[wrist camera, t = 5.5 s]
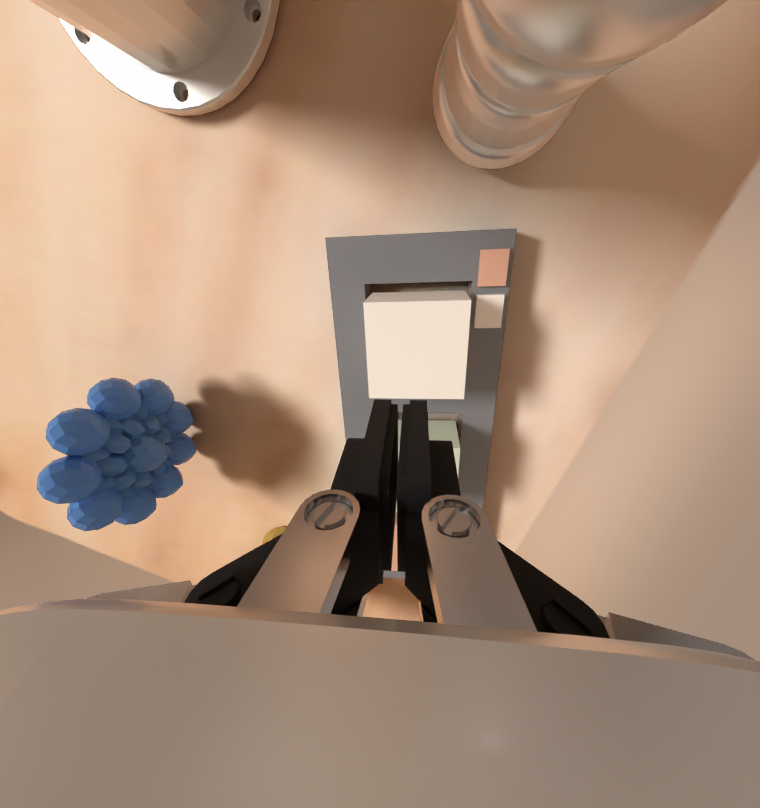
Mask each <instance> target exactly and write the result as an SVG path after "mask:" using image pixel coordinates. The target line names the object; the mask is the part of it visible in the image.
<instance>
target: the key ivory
mask: <svg viewBox="0 0 760 808" xmlns="http://www.w3.org/2000/svg"><path fill="white" fill-rule="evenodd" d="M363 308H364V324H365V341H366V357H367V373H368V389H369V398H390V399H464V393H465V379H466V366H467V353H468V339H469V326H470V313H471V299H470V298H469V296H468V295H467V294H466V292H465V291H464V290H455V291H419V292H382V293H372V294H371V295H370V296H369V297H368V298H367V299H366V300H365V301H364V302H363Z"/></svg>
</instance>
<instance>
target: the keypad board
mask: <svg viewBox="0 0 760 808" xmlns="http://www.w3.org/2000/svg"><path fill="white" fill-rule="evenodd" d="M516 230H517V229H498V230H477V231H456V232H435V233H415V234H394V235H373V236H352V237H331V238H325V239H326V249H327V259H328V269H329V279H330V289H331V299H332V309H333V318H334V328H335V338H336V348H337V358H338V368H339V378H340V388H341V398H342V407H343V417H344V427H345V437H346V441H347V439H348V438H365V434H366V430H367V426H368V422H369V418H370V414H371V410H372V406H373V402H374V399H382V400H391V401H392V404H398V412H402V411H403V404H410V400H427V411H428V413H459V422H458V438H459V444H460V460H459V473H458V481H459V487H460V493H461V496H462V497H465V498H467V499H469V500H471V501H473V502H475V503H476V504H477V505H478V506H480V507H481V508H482V510H483V503H484V494H485V486H486V478H487V470H488V461H489V453H490V445H491V437H492V428H493V420H494V412H495V403H496V395H497V387H498V379H499V370H500V362H501V354H502V346H503V337H504V329H505V321H506V313H507V304H508V296H509V288H510V279H511V271H512V263H513V255H514V246H515V238H516ZM453 281H468V292H467V295H468V296H469V298H470V299H471V313H470V326H469V339H468V353H467V366H466V379H465V393H464V399H390V398H369V389H368V373H367V357H366V341H365V324H364V308H363V302H364V301H365V300H366V299H367V298H368V297H369V296H370V291H369V284H387V283H420V282H453ZM383 577H384V578H397V579H405V572H398V571H392V570H391V571H384V574H383Z"/></svg>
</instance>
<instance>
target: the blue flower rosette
mask: <svg viewBox="0 0 760 808" xmlns="http://www.w3.org/2000/svg"><path fill="white" fill-rule="evenodd" d="M87 403H88V405H89V406H90V408H91V409H92V410H90V409H81V408H75V409H71V410H67V411H64V412H61V413H60V414H59V415H58V416H56V417H55V418H54V419H52V420H51V421H50V422H49V423H48V426H47V429H46V439H47V441H48V442H49V444H50V445H51V447H52V448H53V449H55V450H57V451H59V452H62V453H64V454H66V455H68V456H66V457H63V458H60V459H57V460H54V461H52V462H51V463H50V464H49V465H47V466H46V467H45V468H44V469H43V470H42V471H41V472H40V474H39V476H38V479H37V490H38V491H39V493H40V494H41V496H42V497H43V498H44V499H46V500H49V501H51V502H54V503H56V504H63V503H70V505H69V507H68V509H67V519H68V520H69V522H70V523H71V524H72V526H73V527H75V528H78V529H81V530H83V531H89V530H98V529H101V528H103V527H105V526H107V525H109V524H111V523H113V522H114V521H116V522H119V523H121V524H124V525H128V524H136V523H138V522H140V521H142V520H144V519H146V518H147V517H148V516H150V515H151V514H152V513H153V512H154V510H155V509H156V498H164V497H167V496H169V495H171V494H173V493H175V492H176V491H177V490H178V489H179V488H180V487H181V486H182V485H183V479H182V474H181V473H180V471H179V470H178V468H176V467H175V466H173V465H180V464H182V463H185V462H187V461H188V460H189V459H190V458H192V457H193V455H194V454H195V453H196V448H195V444H194V442H193V440H192V439H191V437H189V436H188V435H186V434H184V433H183V432H185V431H186V430H187V429H188V428H189V427H190V426H191V425H192V423H193V416H192V413H191V411H190V410H189V408H188V407H187V406H186V405H184V404H183V403H181V402H176V401H174V396H173V393H172V391H171V389H170V388H169V386H167V385H166V384H165V383H163V382H162V381H160V380H155V379H147V380H143V381H140V382H139V383H137V384H136V385H135V386H134V385H132V384H131V383H129V382H128V381H126V380H123V379H117V378H110V379H106V380H101V381H100V382H98V383H97V384H96V385H95V386H93V387H92V388H91V389H90V390H89V393H88V395H87Z"/></svg>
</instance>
